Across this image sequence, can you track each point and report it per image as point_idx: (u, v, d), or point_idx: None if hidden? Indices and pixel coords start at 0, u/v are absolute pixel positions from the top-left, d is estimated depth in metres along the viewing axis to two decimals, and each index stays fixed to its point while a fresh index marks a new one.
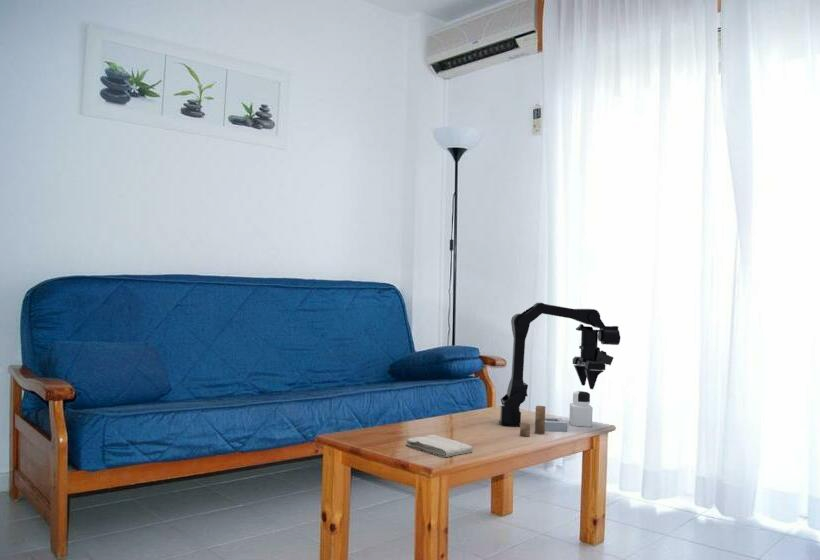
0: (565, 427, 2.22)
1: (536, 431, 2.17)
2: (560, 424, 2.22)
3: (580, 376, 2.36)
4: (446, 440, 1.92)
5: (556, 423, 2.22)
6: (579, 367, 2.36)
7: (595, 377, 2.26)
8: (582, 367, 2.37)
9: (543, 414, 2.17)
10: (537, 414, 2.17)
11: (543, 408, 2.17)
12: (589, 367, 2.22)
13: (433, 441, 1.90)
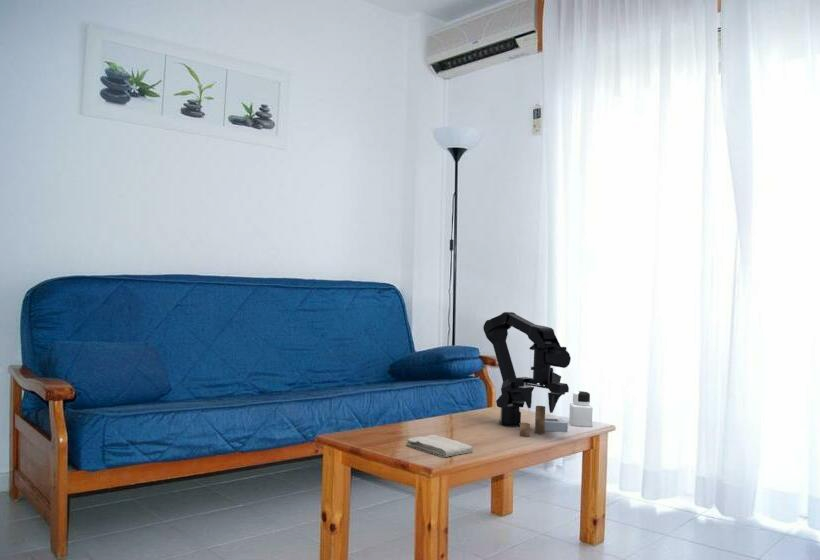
0: (565, 427, 2.22)
1: (536, 431, 2.17)
2: (560, 424, 2.22)
3: (527, 399, 2.21)
4: (446, 440, 1.92)
5: (556, 423, 2.22)
6: (526, 389, 2.21)
7: (556, 400, 2.14)
8: (528, 389, 2.22)
9: (543, 414, 2.17)
10: (537, 414, 2.17)
11: (543, 408, 2.17)
12: (558, 391, 2.10)
13: (433, 441, 1.90)
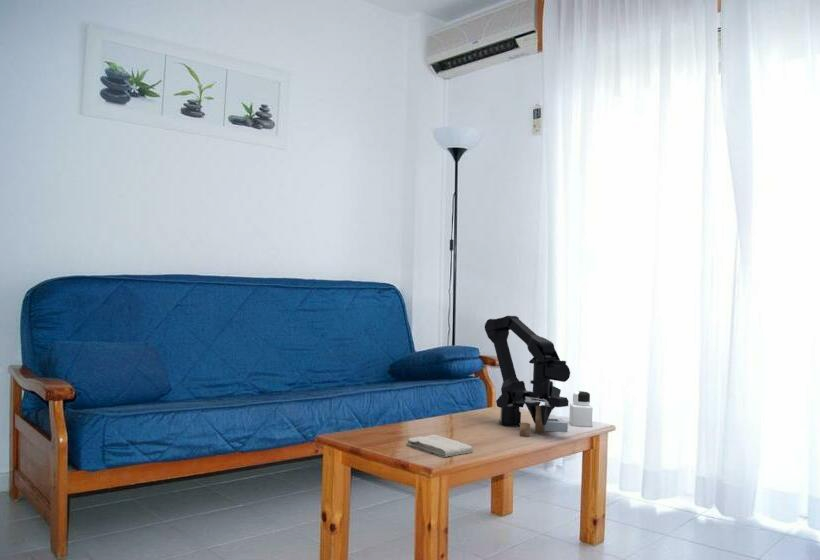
0: (565, 427, 2.22)
1: (536, 431, 2.17)
2: (560, 424, 2.22)
3: (533, 414, 2.19)
4: (447, 440, 1.92)
5: (556, 423, 2.22)
6: (532, 404, 2.19)
7: (549, 412, 2.16)
8: (534, 404, 2.20)
9: None
10: (537, 414, 2.17)
11: None
12: (558, 405, 2.10)
13: (433, 441, 1.90)
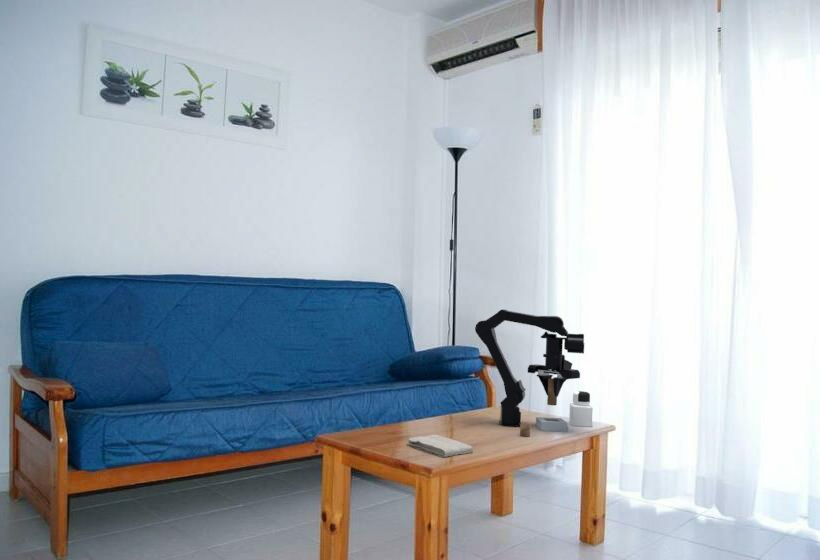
0: (565, 427, 2.22)
1: (548, 402, 2.26)
2: (560, 424, 2.22)
3: (546, 386, 2.28)
4: (447, 440, 1.92)
5: (556, 423, 2.22)
6: (545, 377, 2.28)
7: (561, 384, 2.25)
8: (546, 376, 2.29)
9: None
10: (549, 386, 2.26)
11: None
12: (570, 376, 2.19)
13: (434, 441, 1.90)
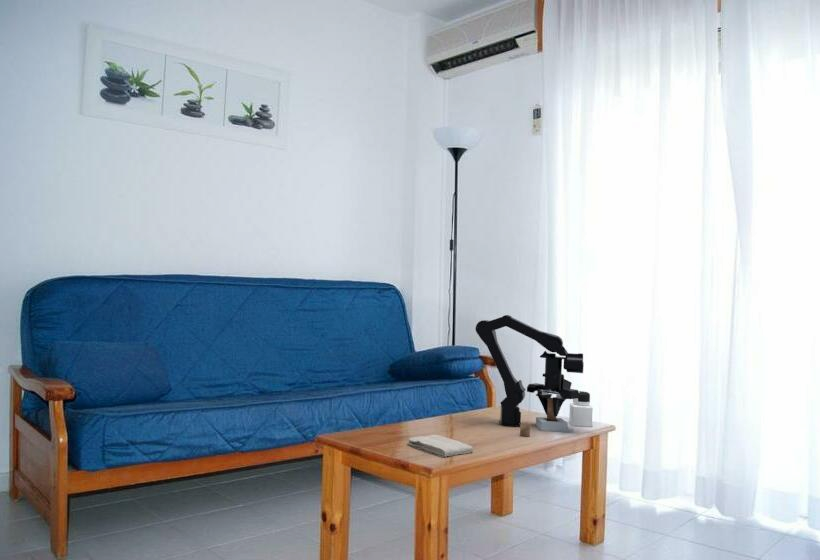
0: (565, 427, 2.22)
1: None
2: (560, 424, 2.22)
3: (545, 405, 2.27)
4: (447, 440, 1.92)
5: (556, 423, 2.22)
6: (544, 396, 2.28)
7: (560, 404, 2.25)
8: (546, 396, 2.28)
9: None
10: (549, 406, 2.26)
11: None
12: (569, 397, 2.18)
13: (434, 441, 1.90)
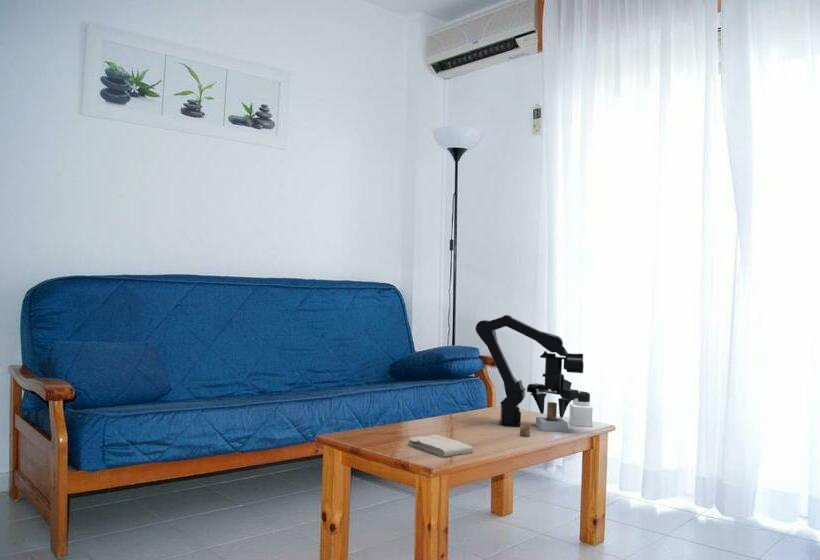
0: (565, 427, 2.22)
1: None
2: (560, 424, 2.22)
3: (540, 405, 2.29)
4: (447, 440, 1.92)
5: (556, 423, 2.22)
6: (539, 395, 2.29)
7: (566, 405, 2.23)
8: (541, 395, 2.30)
9: (555, 410, 2.26)
10: (549, 410, 2.26)
11: (555, 404, 2.26)
12: (570, 397, 2.18)
13: (434, 441, 1.90)
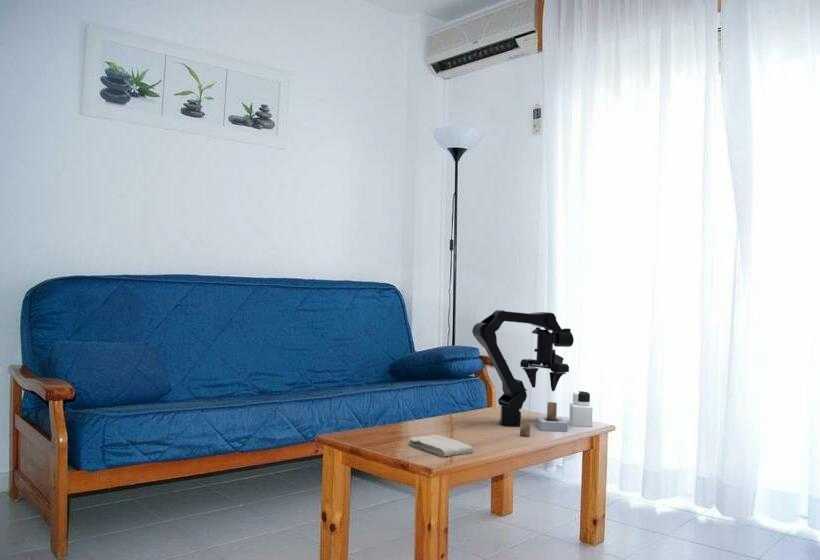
0: (565, 427, 2.22)
1: None
2: (560, 424, 2.22)
3: (531, 379, 2.38)
4: (448, 440, 1.92)
5: (556, 423, 2.22)
6: (530, 370, 2.39)
7: (557, 379, 2.31)
8: (532, 369, 2.39)
9: (555, 410, 2.26)
10: (549, 410, 2.26)
11: (555, 404, 2.26)
12: (559, 370, 2.27)
13: (434, 441, 1.91)
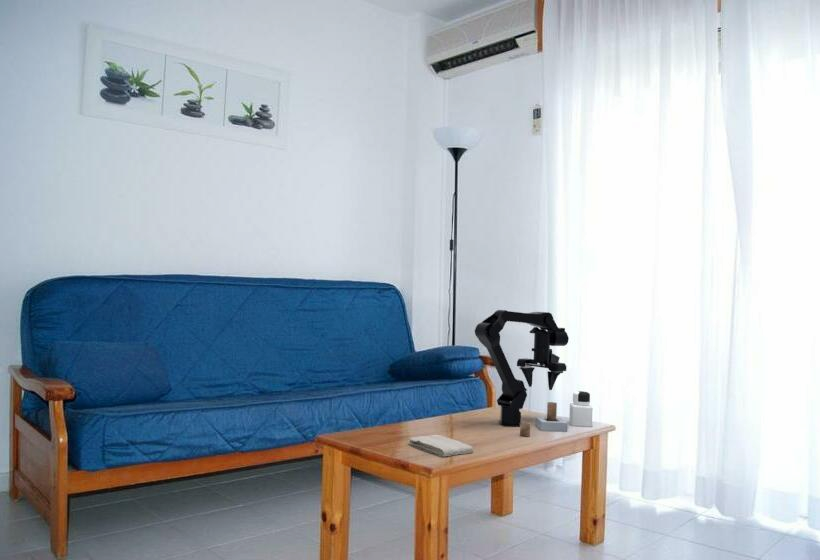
0: (565, 427, 2.22)
1: None
2: (560, 424, 2.22)
3: (528, 378, 2.40)
4: (448, 440, 1.92)
5: (556, 423, 2.22)
6: (527, 369, 2.40)
7: (555, 378, 2.34)
8: (529, 369, 2.41)
9: (555, 410, 2.26)
10: (549, 410, 2.26)
11: (555, 404, 2.26)
12: (557, 369, 2.29)
13: (434, 441, 1.91)
